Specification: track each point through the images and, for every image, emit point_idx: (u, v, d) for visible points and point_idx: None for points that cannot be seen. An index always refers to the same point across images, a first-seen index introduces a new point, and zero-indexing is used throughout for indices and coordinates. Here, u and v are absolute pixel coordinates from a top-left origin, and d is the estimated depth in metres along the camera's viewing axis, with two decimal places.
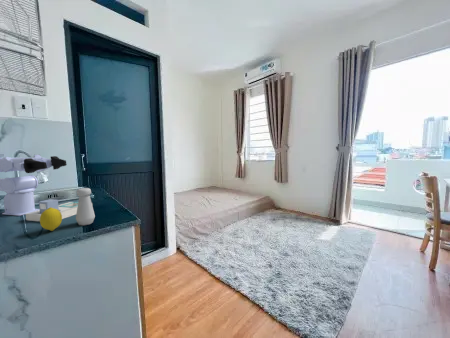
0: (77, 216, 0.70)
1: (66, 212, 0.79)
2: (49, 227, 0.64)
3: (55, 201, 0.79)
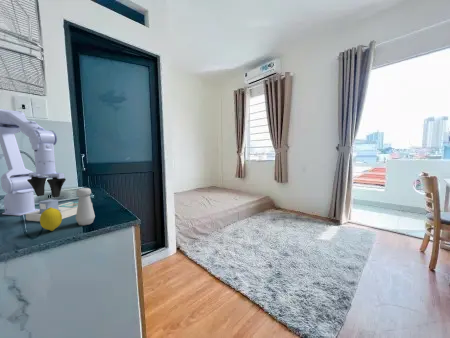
0: (77, 216, 0.70)
1: (66, 212, 0.79)
2: (49, 227, 0.64)
3: (55, 201, 0.79)
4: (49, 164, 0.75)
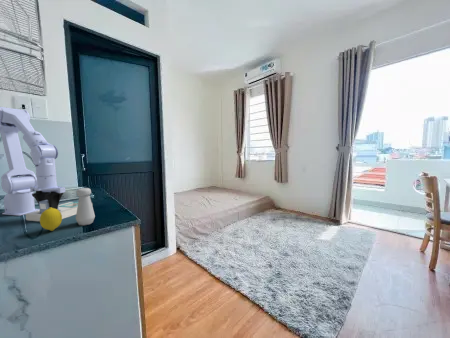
0: (77, 216, 0.70)
1: (66, 212, 0.79)
2: (49, 227, 0.64)
3: None
4: (50, 178, 0.76)
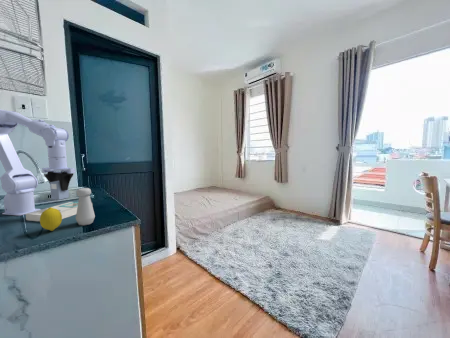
0: (77, 216, 0.70)
1: (66, 212, 0.79)
2: (49, 227, 0.64)
3: None
4: (61, 160, 0.80)
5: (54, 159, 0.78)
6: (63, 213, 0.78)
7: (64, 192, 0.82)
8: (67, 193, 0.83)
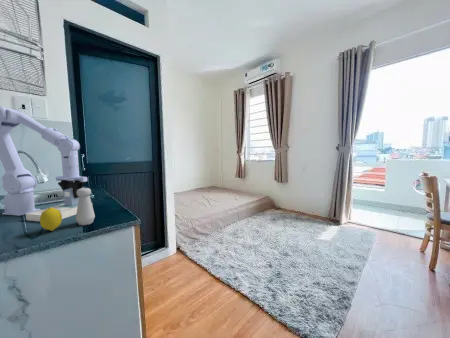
0: (77, 216, 0.70)
1: (66, 212, 0.79)
2: (49, 227, 0.64)
3: None
4: (74, 169, 0.85)
5: (68, 168, 0.84)
6: (63, 213, 0.78)
7: (76, 199, 0.87)
8: None
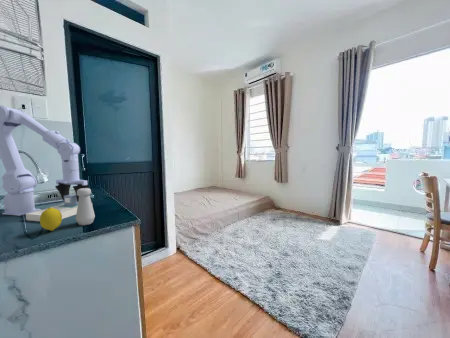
0: (77, 216, 0.70)
1: (66, 212, 0.79)
2: (49, 227, 0.64)
3: None
4: (74, 172, 0.86)
5: (68, 172, 0.84)
6: (63, 213, 0.78)
7: None
8: None
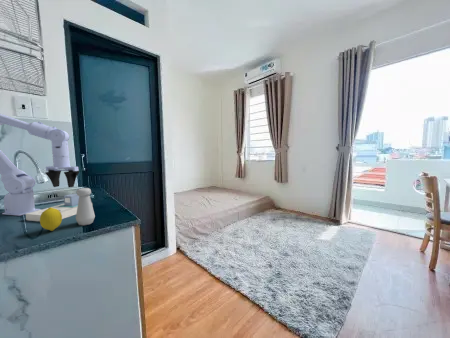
0: (77, 216, 0.70)
1: (66, 212, 0.79)
2: (49, 227, 0.64)
3: None
4: (65, 159, 0.87)
5: (59, 158, 0.86)
6: (63, 213, 0.78)
7: None
8: None
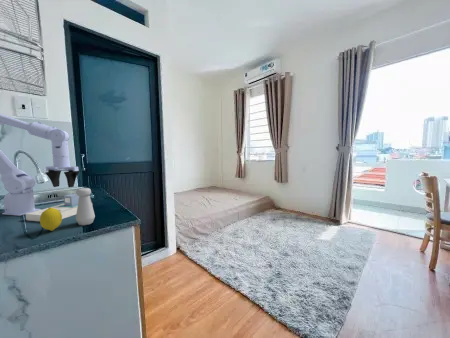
0: (77, 216, 0.70)
1: (66, 212, 0.79)
2: (49, 227, 0.64)
3: None
4: (65, 159, 0.87)
5: (59, 158, 0.86)
6: (63, 213, 0.78)
7: None
8: None
